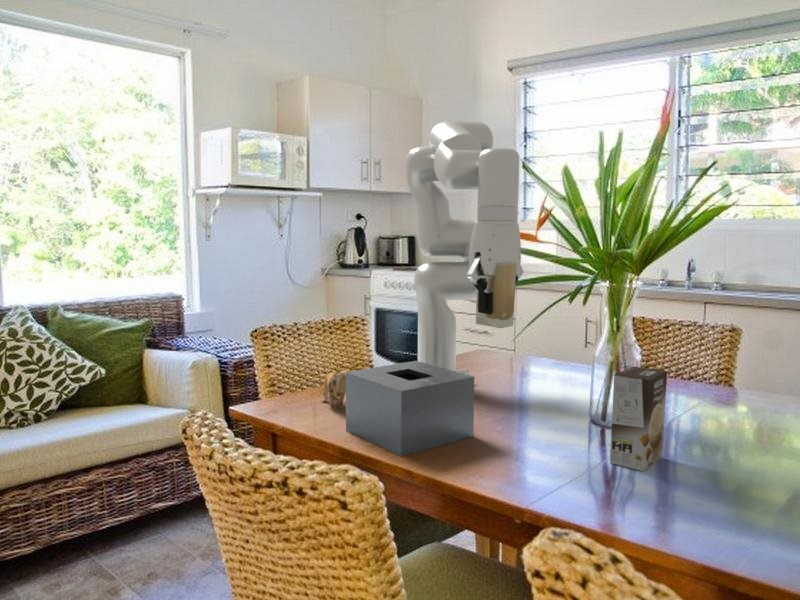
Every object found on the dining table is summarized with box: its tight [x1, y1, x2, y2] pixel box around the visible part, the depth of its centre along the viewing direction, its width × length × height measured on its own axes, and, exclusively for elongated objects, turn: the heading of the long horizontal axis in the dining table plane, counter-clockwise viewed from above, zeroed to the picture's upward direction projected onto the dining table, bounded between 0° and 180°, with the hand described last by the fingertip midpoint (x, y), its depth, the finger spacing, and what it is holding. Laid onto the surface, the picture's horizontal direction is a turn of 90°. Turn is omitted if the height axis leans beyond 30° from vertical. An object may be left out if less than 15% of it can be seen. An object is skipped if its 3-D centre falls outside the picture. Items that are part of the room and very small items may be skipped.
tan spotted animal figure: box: [322, 370, 348, 411], centre depth 153 cm, size 15×5×9 cm, turn 27°
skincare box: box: [475, 263, 517, 329], centre depth 128 cm, size 6×4×12 cm
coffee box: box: [609, 366, 668, 472], centre depth 118 cm, size 9×6×16 cm
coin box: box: [345, 360, 475, 457], centre depth 133 cm, size 18×18×12 cm
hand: (494, 310), depth 129 cm, fingers closed on skincare box, 4 cm apart
